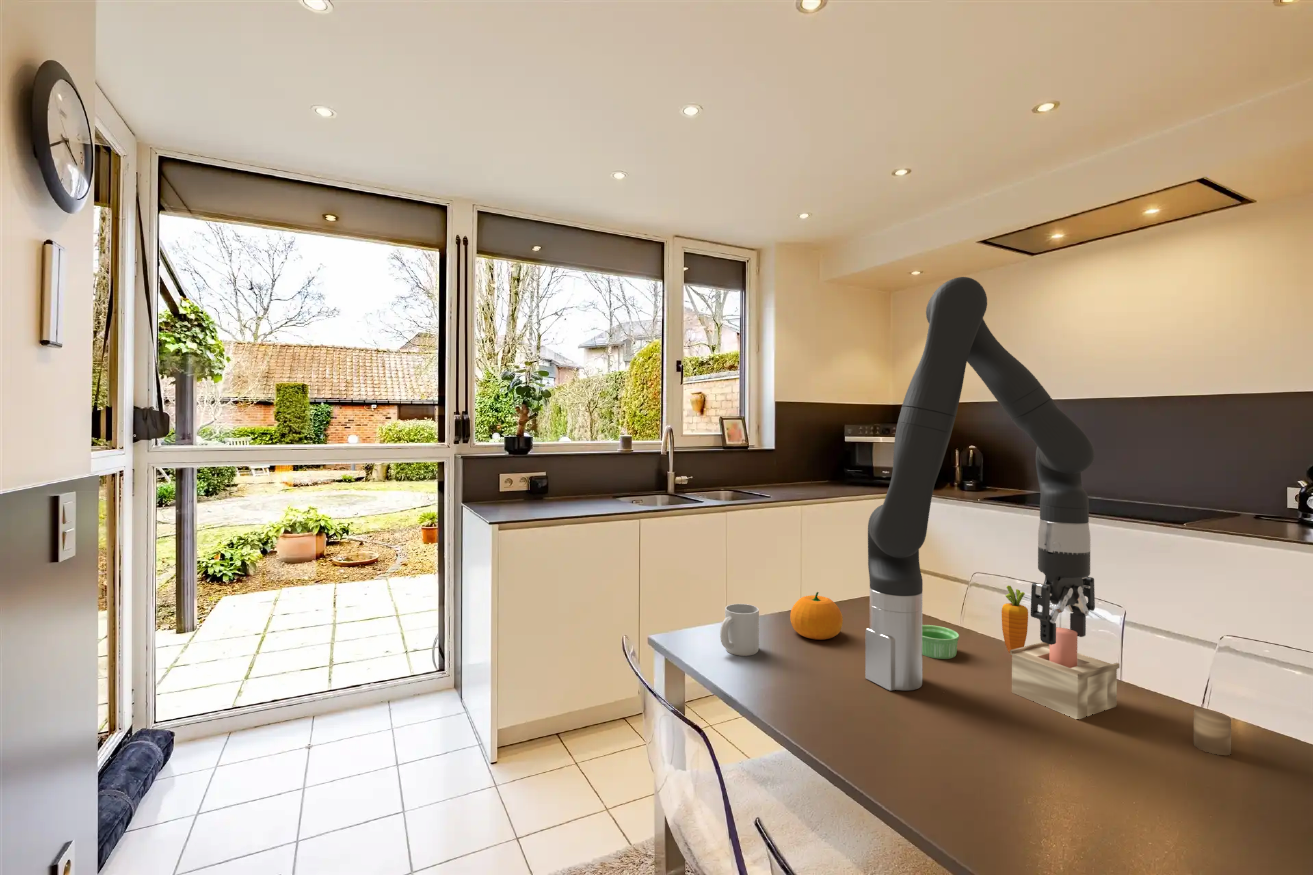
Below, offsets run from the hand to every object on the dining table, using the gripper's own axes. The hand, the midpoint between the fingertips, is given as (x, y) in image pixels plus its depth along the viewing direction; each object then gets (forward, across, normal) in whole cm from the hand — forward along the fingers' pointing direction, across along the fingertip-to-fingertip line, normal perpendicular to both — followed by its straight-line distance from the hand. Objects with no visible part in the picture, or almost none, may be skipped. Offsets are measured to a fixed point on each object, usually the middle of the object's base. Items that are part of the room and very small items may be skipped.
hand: (1063, 639), depth 102 cm
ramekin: (+11, +2, -25) cm, 27 cm away
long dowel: (+11, 0, 0) cm, 11 cm away
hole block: (+11, 0, 0) cm, 11 cm away
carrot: (+11, -10, -15) cm, 21 cm away
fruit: (+11, +18, -44) cm, 49 cm away
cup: (+11, +40, -43) cm, 59 cm away
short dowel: (+11, -4, +19) cm, 22 cm away
